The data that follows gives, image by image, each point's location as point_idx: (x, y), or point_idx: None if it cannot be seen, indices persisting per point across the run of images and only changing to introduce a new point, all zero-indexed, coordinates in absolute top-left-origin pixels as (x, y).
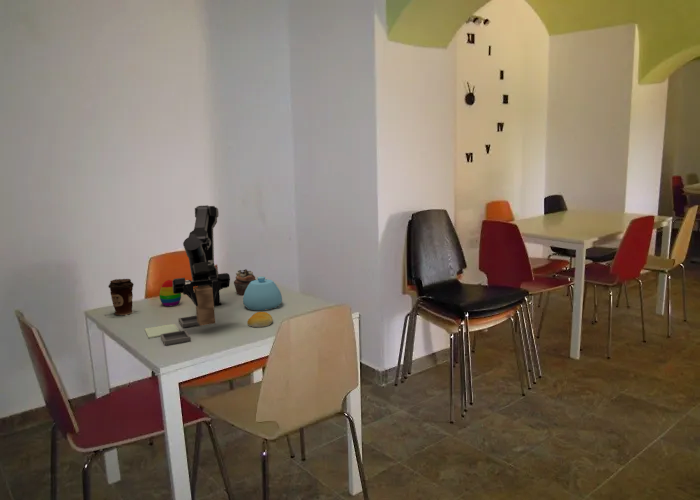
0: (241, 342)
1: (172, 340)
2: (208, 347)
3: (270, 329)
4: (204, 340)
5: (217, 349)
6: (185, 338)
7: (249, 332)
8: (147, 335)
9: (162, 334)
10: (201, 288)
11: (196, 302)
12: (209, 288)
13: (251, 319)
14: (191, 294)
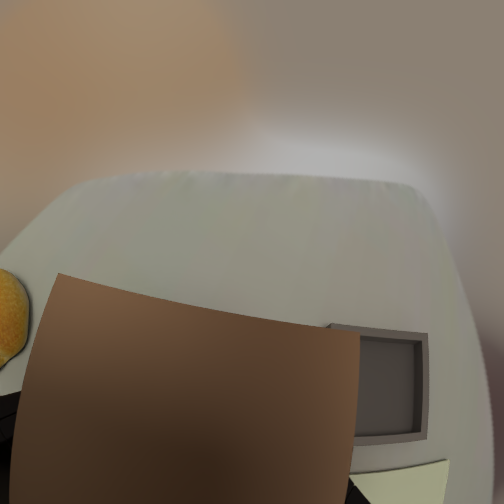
0: (164, 191)
1: (400, 332)
2: (282, 220)
3: (19, 239)
4: (268, 302)
5: (262, 187)
6: (351, 326)
7: (75, 262)
8: (443, 488)
9: (422, 430)
10: (219, 462)
11: None
12: (85, 324)
13: (9, 306)
14: (365, 499)
